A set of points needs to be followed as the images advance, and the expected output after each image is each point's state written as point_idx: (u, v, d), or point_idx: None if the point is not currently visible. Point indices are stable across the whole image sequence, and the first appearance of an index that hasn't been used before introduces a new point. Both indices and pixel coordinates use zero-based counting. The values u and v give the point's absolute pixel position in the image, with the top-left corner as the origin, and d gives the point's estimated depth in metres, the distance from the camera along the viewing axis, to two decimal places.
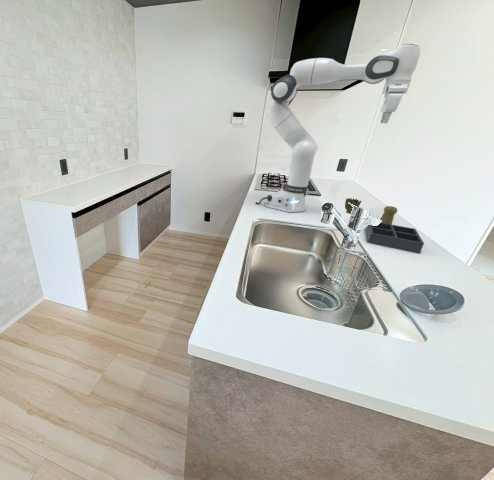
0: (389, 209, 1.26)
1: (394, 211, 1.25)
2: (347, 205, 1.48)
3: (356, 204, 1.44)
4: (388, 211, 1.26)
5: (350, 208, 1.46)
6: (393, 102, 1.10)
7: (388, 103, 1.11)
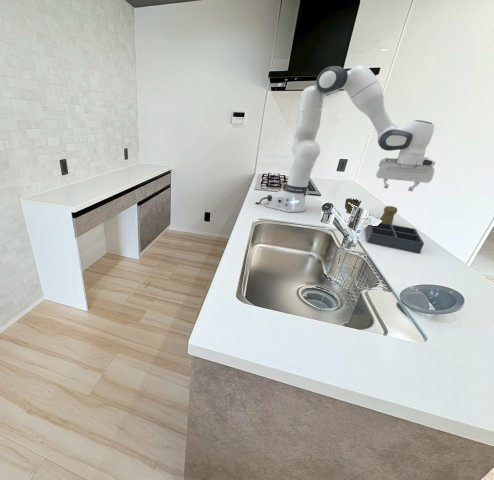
0: (389, 209, 1.26)
1: (394, 211, 1.25)
2: (347, 205, 1.48)
3: (356, 204, 1.44)
4: (388, 211, 1.26)
5: (350, 208, 1.46)
6: None
7: (432, 176, 1.14)
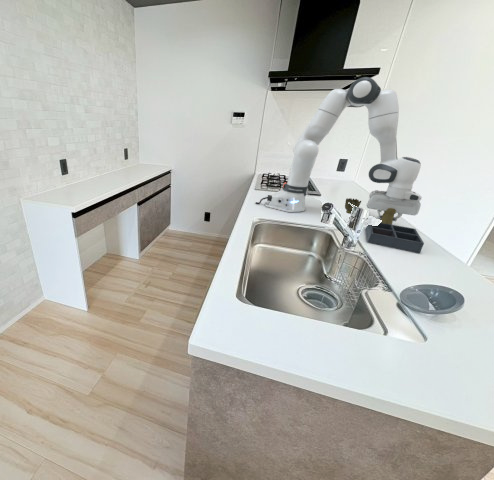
0: (389, 209, 1.26)
1: (394, 211, 1.25)
2: (347, 205, 1.48)
3: (356, 204, 1.44)
4: (388, 211, 1.26)
5: (350, 208, 1.46)
6: None
7: (419, 209, 1.21)
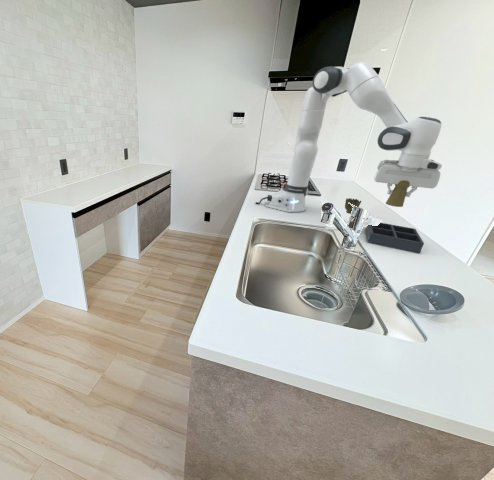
0: (402, 182, 1.06)
1: (407, 184, 1.05)
2: (347, 205, 1.48)
3: (356, 204, 1.44)
4: (401, 184, 1.06)
5: (350, 208, 1.46)
6: None
7: (438, 180, 1.00)
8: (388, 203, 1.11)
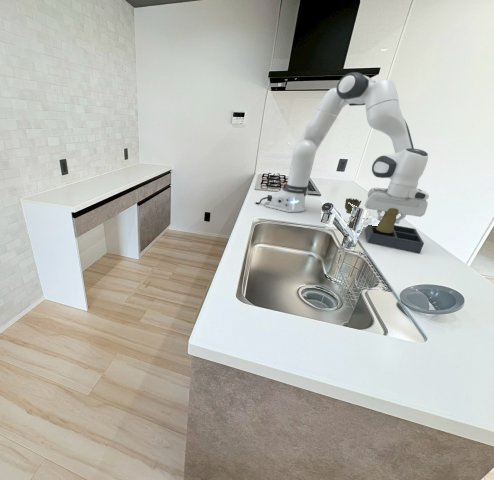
0: (391, 210, 1.09)
1: (396, 212, 1.08)
2: (347, 205, 1.48)
3: (356, 204, 1.44)
4: (390, 211, 1.09)
5: (350, 208, 1.46)
6: None
7: None
8: (378, 229, 1.14)
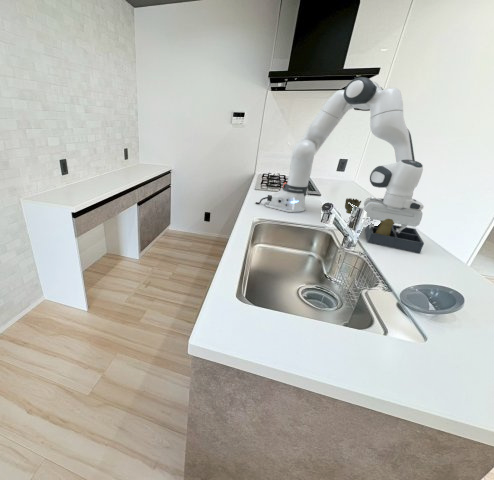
0: (386, 220, 1.11)
1: (392, 222, 1.10)
2: (347, 205, 1.48)
3: (356, 204, 1.44)
4: (385, 221, 1.11)
5: (350, 208, 1.46)
6: None
7: (420, 220, 1.05)
8: None
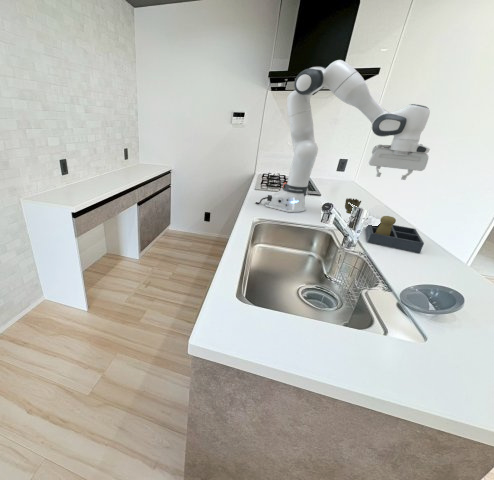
0: (386, 220, 1.11)
1: (392, 222, 1.10)
2: (347, 205, 1.48)
3: (356, 204, 1.44)
4: (385, 221, 1.11)
5: (350, 208, 1.46)
6: None
7: (426, 163, 1.10)
8: None
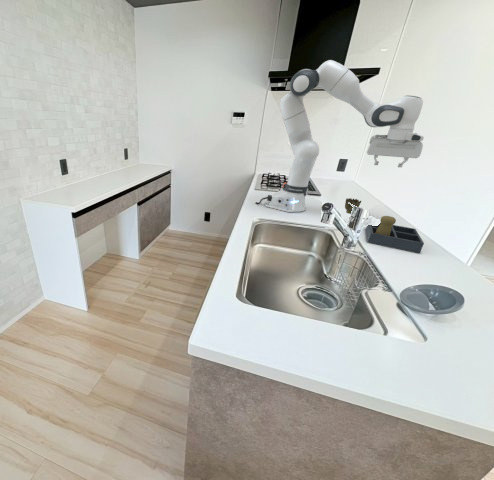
0: (386, 220, 1.11)
1: (392, 222, 1.10)
2: (347, 205, 1.48)
3: (356, 204, 1.44)
4: (385, 221, 1.11)
5: (350, 208, 1.46)
6: None
7: None
8: None
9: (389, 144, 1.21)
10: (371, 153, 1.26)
